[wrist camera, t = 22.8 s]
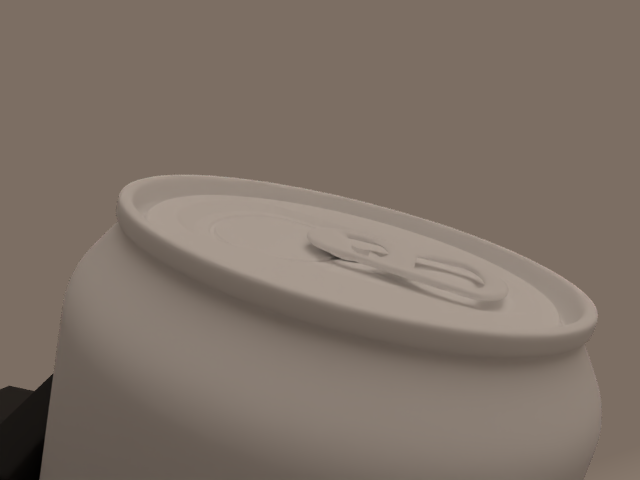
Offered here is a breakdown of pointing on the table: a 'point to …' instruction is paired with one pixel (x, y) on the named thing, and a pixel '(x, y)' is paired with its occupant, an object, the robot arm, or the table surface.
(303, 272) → the beverage can
